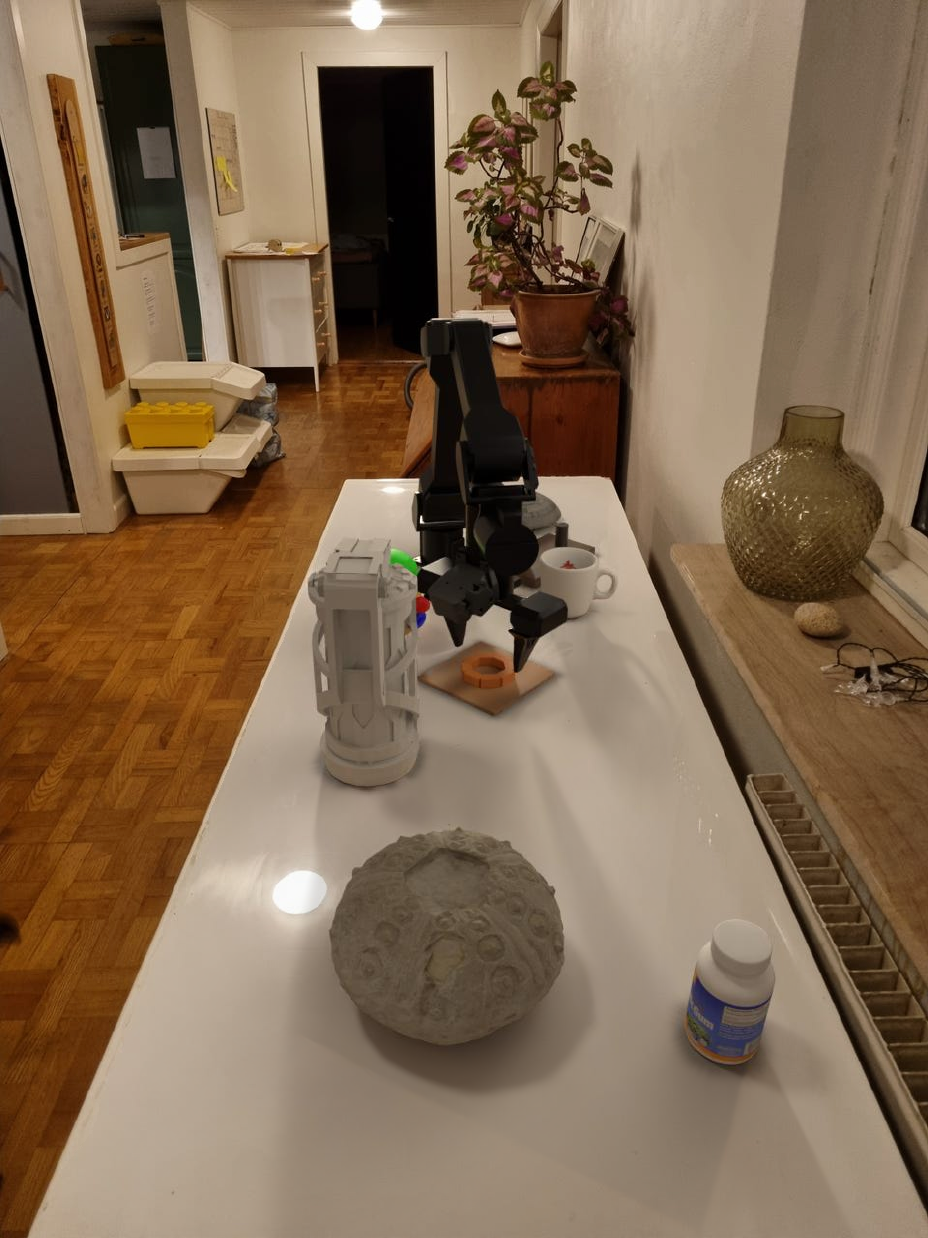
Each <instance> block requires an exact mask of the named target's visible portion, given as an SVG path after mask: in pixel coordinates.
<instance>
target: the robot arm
mask: <svg viewBox="0 0 928 1238" xmlns="http://www.w3.org/2000/svg"><path fill="white" fill-rule="evenodd" d="M493 345H494V344H493V324H492V323H489V322H488V321H483V320H482V319H481V318H480V319H479V318H478V317H457V318H456V317H455V318H451V317H450V318H430V320H429V321H426V322H425V325H424V326H423V327H421V329H420V352H421V356H422V358H425V362H426V367H427V370H428V371H427V372H428V374H429V377H430V378H431V380H432V381H433V383H434V385H435V386H434V399H433V400H434V401H433V418H432V434H431V435H432V436H431V439H432V440H431V452H430V453H431V455H430V464H429V465H428V466H427V468H426V469H424V471H423V472H422V473H421V474H420V475H419V478H418V487H417V488H418V489H417V491H415V492H414V494H413V498H412V504H411V522H412V525H413V527H414V529H415V532H416V533H419V555H418V556H416V557H414V558H412V559H413V560H415V562H416V565H419V566H421V568H420V569H418V573H417V575H416V576H417V592H420V593H421V594H422V595H423V596H424V598H425V599H426V600H429V601H430V604H431V606H432V608H433V612H434V614H435V615H436V616H438V617H442V618H443V619H444V621H445V624H446V627H447V630H448V633H449V635H450V638H451V640H452V642H453V646H454V647H455V648H458V649H459V648H460V647H462V646H463V644H464V642H465V637H466V632H467V624H468V622H469V621H470V620H471V619H472V616H476V617H478V618H482V617H483V616H485V615H486V614H487V612H488V611H490V610H491V609H492V608H493V606H495V607H498V608H501V609H504V610H507V611H509V612H510V613H509V623H510V625H511V626H512V627H511V628H509V629H508V633H509V634H510V635H511V636H512V637H513V666H514V672H515V673H518V672H520V671H521V670H522V669H523V667H524V665H525V663H526V661H529V658H530V656H531V654H532V653H533V650H534V649H535V648H536V646H537V644H538V642H539V640H540V638H542V637H544V636H545V635H547V634H550V632H552V631H554V630H556V629H557V628H559V627H560V626H562V625H563V624H565V623H567V622H568V618H567V617H568V606H567V603H566V602H565V601H564V600H563V599H561V598H558V597H555V596H552V595H550V594H547V593H544V592H541V590H538V591H536V592H534V593H532V594H530V595H528V596H526V597H524V596H522V595H518V594H515V590H516V589H517V588H519V587H521V586H522V584H521V578H520V577H517V576H515V575H519V574H521V573H523V572H525V571H527V570H528V569H529V568H530V567H531V566H532V565H533V564H534V563H535V561H536V559H537V557H538V553H539V543H538V540H537V538H538V537H537V535H536V534H535V532H534V530H532V529H531V528H530V526H529V525H528V523H527V522H526V520H525V518H524V517H523V514H522V502H531V501H536V492H537V491H536V490H538V487H539V485H540V481H539V476H538V469H537V464H536V459H535V453H534V449H533V447H531V442H530V440H529V439H528V438H527V437H525V435H524V431H523V429H522V426H521V423H520V419H519V418H518V417H517V416H516V415H514V414H513V413H512V412H510V411H509V410H508V409H507V408H505V405H504V403H503V400H502V395H501V391H500V386H499V381H498V379H497V374H496V373H497V372H496V370H495V369H496V368H495V365H494V362H493V357H492V356H493V353H494V346H493ZM521 477H522V482H523V484H508V485H507V484H504V483H513V482H514V483H517V482H519V481H520V479H521ZM464 529H465V537H464Z"/></svg>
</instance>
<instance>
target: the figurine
mask: <svg viewBox="0 0 928 1238" xmlns="http://www.w3.org/2000/svg"><path fill="white" fill-rule="evenodd" d="M413 559H414V558H412V557H411V556H410V555H409V554H408V553H406V552H405V551H402V550H401V549H398V548H391V558H390V564H393V565H394V563H398V564H401V565H402V566H403V568H405V569H408V570H409V571H410V572H411V573H412V574H414V575H415V576H416V575H417V573H418V572H419V568H418V564H416V562H415V560H413ZM430 609H431V602H430V601H429V600H426V599H425V598H424V595H423V593H420V592H417V594H416V623H417V627H418V629H420V628H421V627H422V626H423V625H424V624H425V622H426V620H427V612H428V611H429V610H430ZM409 634H411V630H410V627H409V625H408V623H407V622H406V620H405V636H406V635H409Z"/></svg>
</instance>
